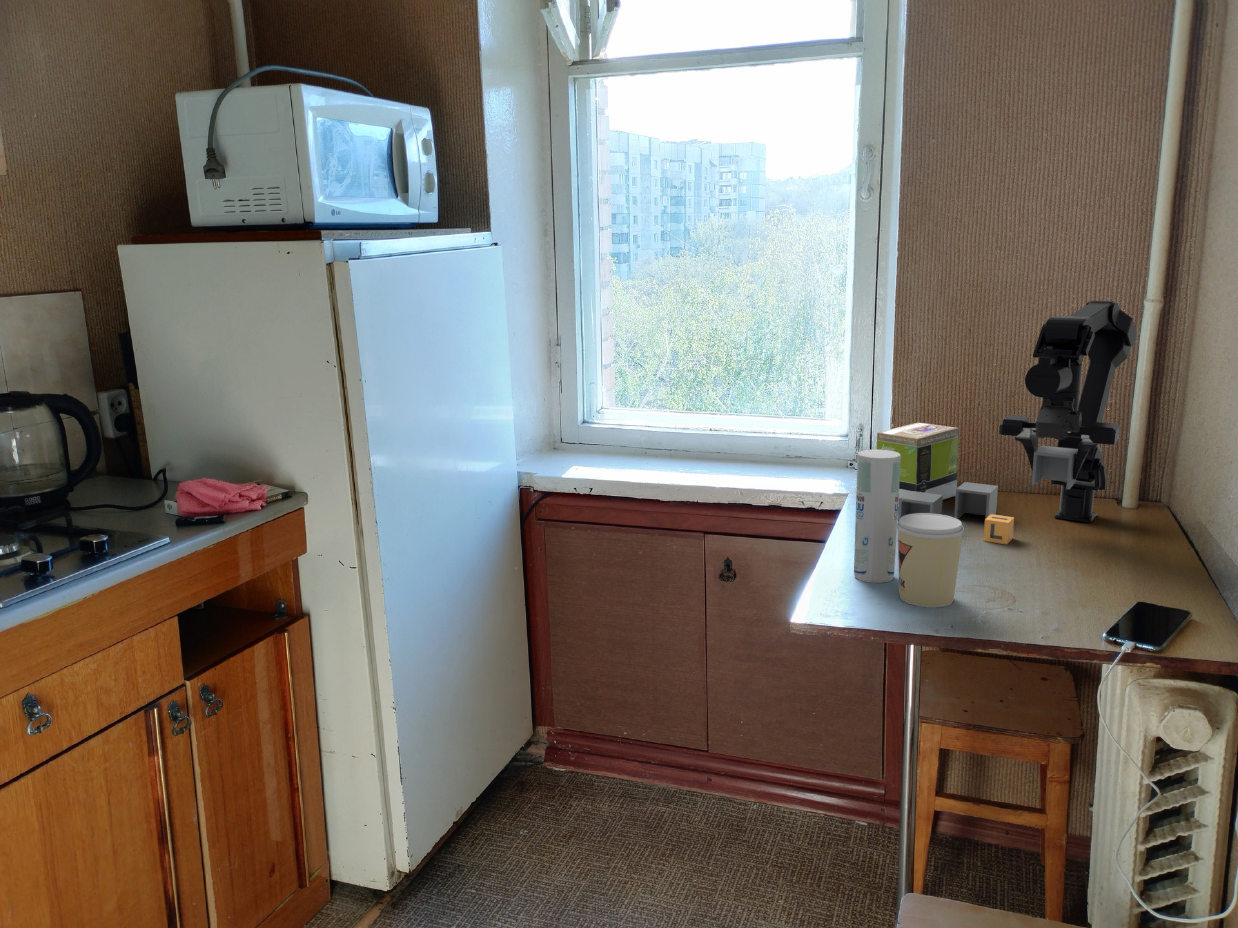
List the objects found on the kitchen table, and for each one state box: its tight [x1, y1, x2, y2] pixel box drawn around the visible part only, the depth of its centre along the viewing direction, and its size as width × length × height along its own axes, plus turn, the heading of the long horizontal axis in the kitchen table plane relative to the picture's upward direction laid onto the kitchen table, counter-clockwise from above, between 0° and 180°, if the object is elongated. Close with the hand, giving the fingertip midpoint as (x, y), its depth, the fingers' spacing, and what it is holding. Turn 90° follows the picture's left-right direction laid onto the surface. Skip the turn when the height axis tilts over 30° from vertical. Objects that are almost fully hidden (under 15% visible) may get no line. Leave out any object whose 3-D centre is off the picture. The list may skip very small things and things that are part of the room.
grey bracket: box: [1031, 445, 1078, 489], centre depth 172 cm, size 6×6×6 cm
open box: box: [953, 481, 999, 520], centre depth 185 cm, size 6×6×6 cm
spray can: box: [853, 449, 901, 584], centre depth 152 cm, size 6×6×20 cm
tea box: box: [876, 422, 960, 505], centre depth 198 cm, size 15×10×15 cm, turn 130°
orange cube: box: [982, 514, 1015, 545], centre depth 171 cm, size 4×4×4 cm
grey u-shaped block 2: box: [897, 491, 944, 530], centre depth 179 cm, size 6×6×6 cm
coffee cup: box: [897, 513, 965, 609], centre depth 143 cm, size 9×9×12 cm
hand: (1054, 476), depth 172 cm, fingers closed on grey bracket, 6 cm apart
